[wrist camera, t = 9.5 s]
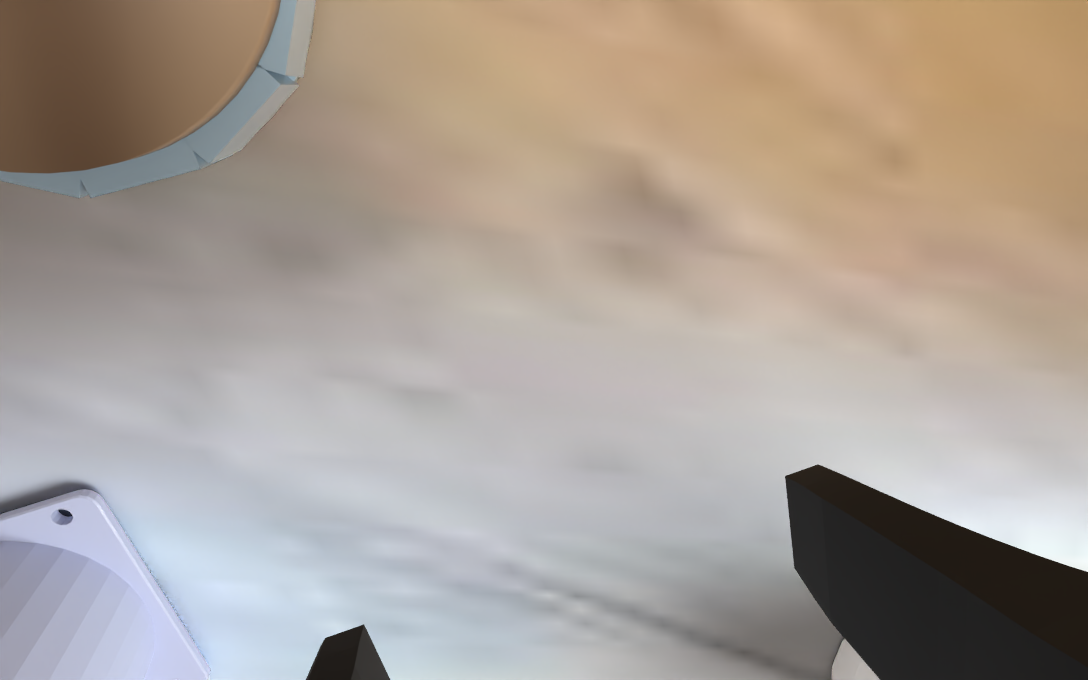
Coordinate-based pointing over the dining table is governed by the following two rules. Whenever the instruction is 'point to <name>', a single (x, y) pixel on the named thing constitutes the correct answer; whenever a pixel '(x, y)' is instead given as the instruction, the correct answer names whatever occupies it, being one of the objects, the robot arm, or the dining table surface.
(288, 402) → the dining table surface
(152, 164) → the bowl
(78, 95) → the lid
